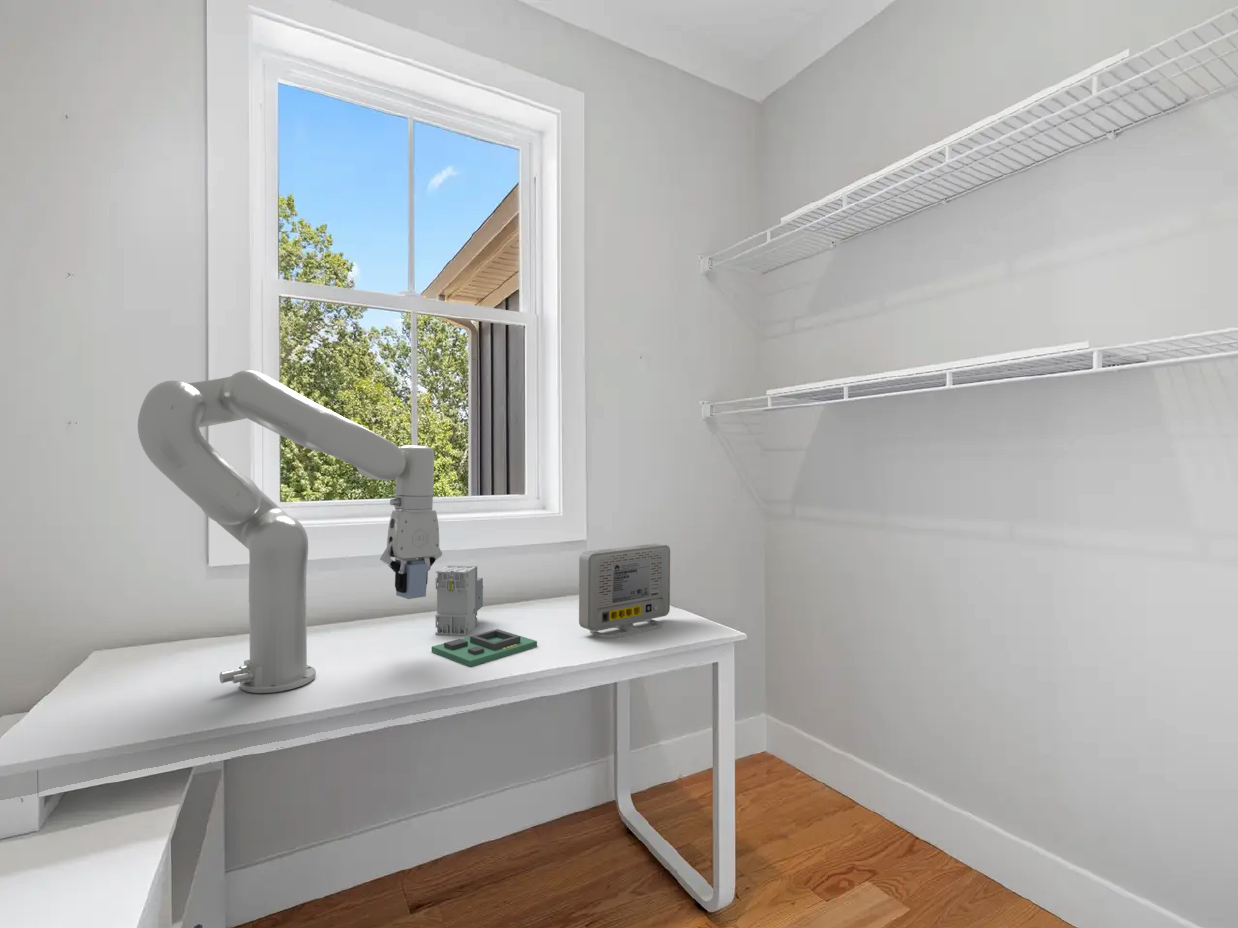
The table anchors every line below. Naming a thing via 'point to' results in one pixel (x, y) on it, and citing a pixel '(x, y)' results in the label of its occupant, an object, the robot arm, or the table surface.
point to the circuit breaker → (458, 599)
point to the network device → (624, 588)
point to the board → (483, 647)
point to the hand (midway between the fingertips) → (411, 589)
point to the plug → (415, 579)
